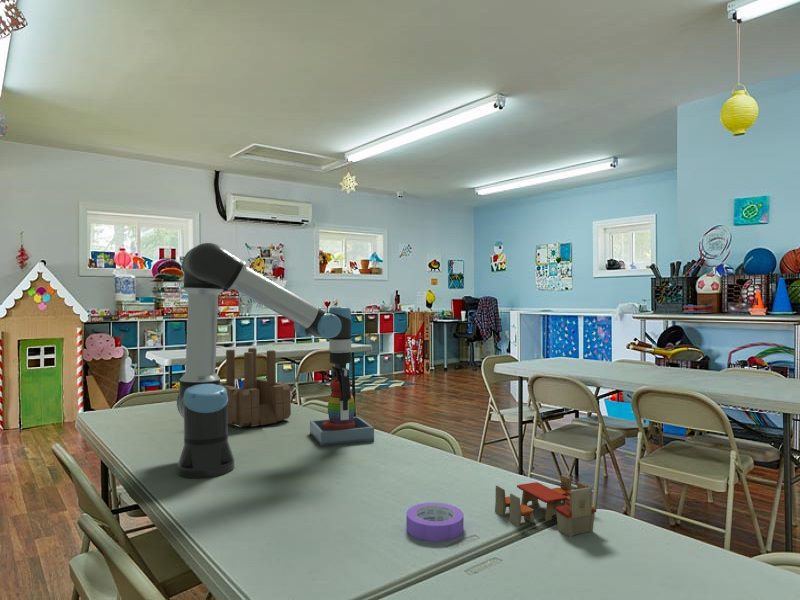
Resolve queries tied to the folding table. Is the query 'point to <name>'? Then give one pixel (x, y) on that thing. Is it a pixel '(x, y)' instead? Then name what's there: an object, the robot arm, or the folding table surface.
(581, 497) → the dollhouse furniture set
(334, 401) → the stacking bear
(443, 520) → the masking tape
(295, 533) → the folding table surface
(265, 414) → the wooden toy structure
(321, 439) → the tray
